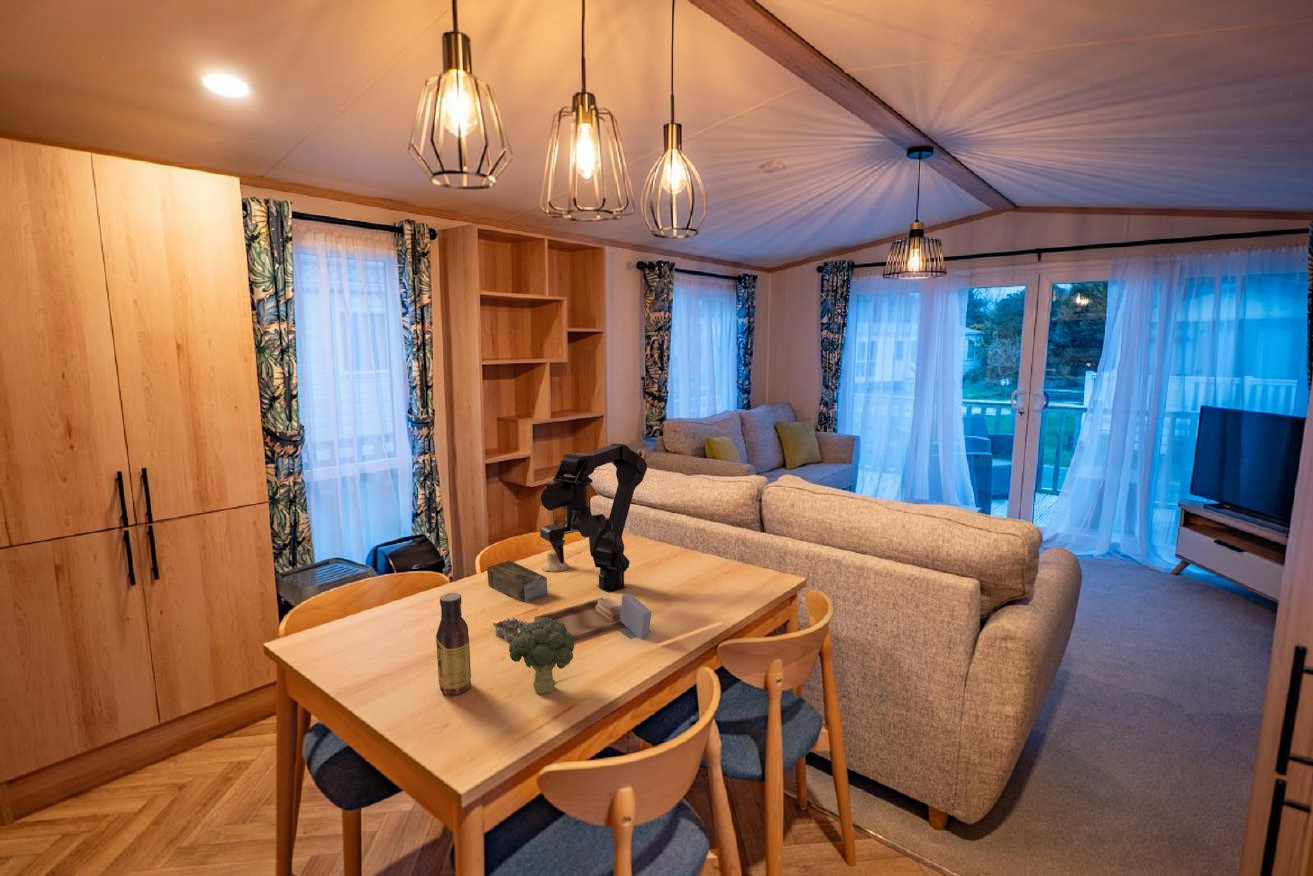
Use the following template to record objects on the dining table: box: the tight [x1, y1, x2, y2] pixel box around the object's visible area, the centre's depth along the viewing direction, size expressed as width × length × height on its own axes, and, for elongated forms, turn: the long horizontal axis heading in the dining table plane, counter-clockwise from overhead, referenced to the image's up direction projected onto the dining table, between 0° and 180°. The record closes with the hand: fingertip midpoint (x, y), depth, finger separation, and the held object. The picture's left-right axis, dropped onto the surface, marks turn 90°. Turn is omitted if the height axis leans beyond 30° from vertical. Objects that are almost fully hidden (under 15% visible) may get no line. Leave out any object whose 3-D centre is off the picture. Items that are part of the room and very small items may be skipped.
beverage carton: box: [486, 560, 548, 603], centre depth 173 cm, size 8×19×7 cm, turn 46°
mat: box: [616, 626, 652, 640], centre depth 148 cm, size 6×6×1 cm
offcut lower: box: [596, 604, 621, 621], centre depth 158 cm, size 4×8×2 cm, turn 37°
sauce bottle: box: [435, 592, 472, 696], centre depth 122 cm, size 6×6×20 cm
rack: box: [533, 597, 625, 642], centre depth 153 cm, size 20×15×2 cm
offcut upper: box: [598, 597, 622, 614], centre depth 157 cm, size 4×6×2 cm, turn 37°
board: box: [620, 593, 652, 640], centre depth 147 cm, size 2×9×7 cm, turn 37°
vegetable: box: [508, 617, 575, 695], centre depth 122 cm, size 12×13×15 cm
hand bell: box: [541, 517, 570, 573], centre depth 191 cm, size 8×8×16 cm
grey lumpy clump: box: [492, 617, 532, 642], centre depth 145 cm, size 11×8×4 cm
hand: (577, 559), depth 162 cm, fingers open, 9 cm apart
